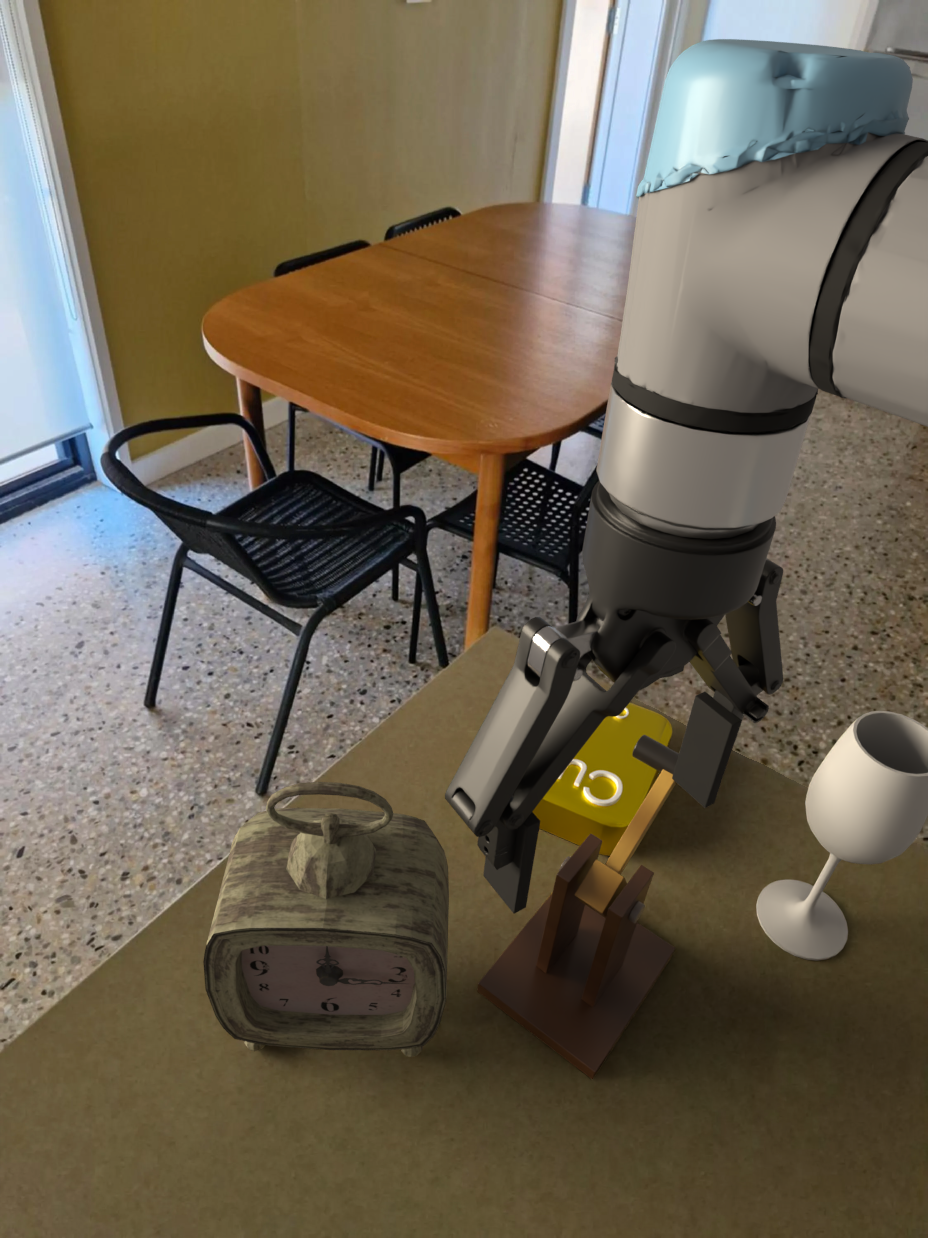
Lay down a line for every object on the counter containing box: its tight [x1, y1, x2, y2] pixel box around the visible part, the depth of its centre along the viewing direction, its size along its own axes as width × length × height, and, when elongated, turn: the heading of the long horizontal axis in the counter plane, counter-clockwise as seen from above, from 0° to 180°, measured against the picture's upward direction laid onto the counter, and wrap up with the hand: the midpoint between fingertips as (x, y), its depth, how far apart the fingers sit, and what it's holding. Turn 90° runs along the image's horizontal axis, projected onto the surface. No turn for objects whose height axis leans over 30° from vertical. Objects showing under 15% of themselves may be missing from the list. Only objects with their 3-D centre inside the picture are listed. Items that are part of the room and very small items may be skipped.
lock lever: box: [575, 735, 679, 918], centre depth 61 cm, size 12×6×2 cm, turn 143°
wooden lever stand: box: [476, 834, 676, 1080], centre depth 63 cm, size 12×10×13 cm
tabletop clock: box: [203, 781, 450, 1058], centre depth 56 cm, size 14×9×25 cm, turn 90°
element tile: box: [532, 702, 673, 857], centre depth 81 cm, size 15×15×5 cm
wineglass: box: [755, 710, 928, 961], centre depth 65 cm, size 8×8×21 cm
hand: (604, 838), depth 49 cm, fingers open, 13 cm apart
